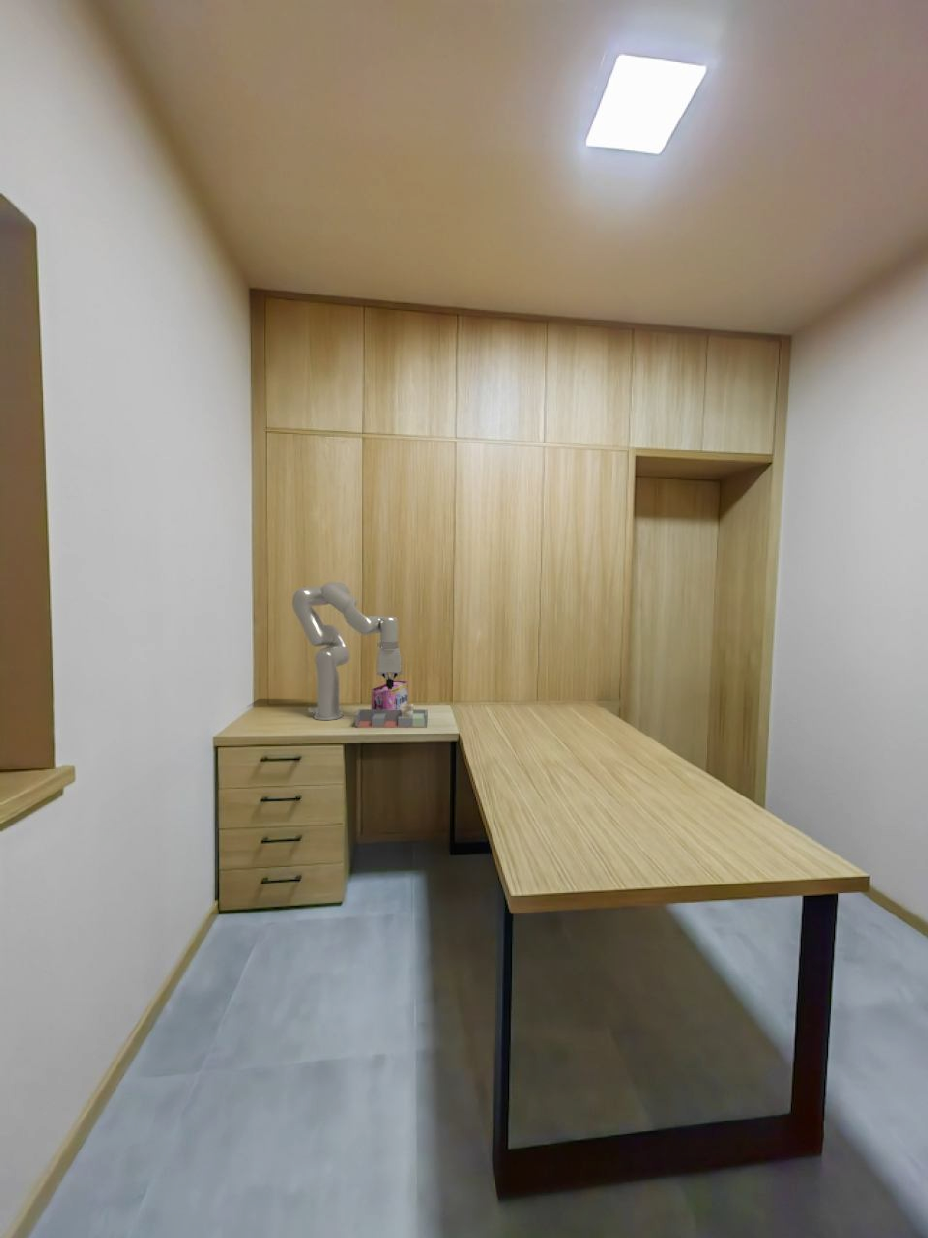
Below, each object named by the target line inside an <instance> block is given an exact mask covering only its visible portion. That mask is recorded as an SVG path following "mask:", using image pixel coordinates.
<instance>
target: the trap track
mask: <svg viewBox="0 0 928 1238" xmlns="http://www.w3.org/2000/svg"><path fill="white" fill-rule="evenodd" d="M428 713H429V709H421V708H420V709H414V708H413V717H402V709H371V708H369V709H367V708H366V709H365V708H359V709H358V710H357V711H356V713H355V714H354V715H355V716H354V722H355V724H354V727H355V729H356V728H363V729H364V728H366V729H367V728H372V727H373V729H374V727H376V728H377V729H378V728H384V729H385V728H388V729H391V728H393V729H394V728H396V729H397V728H401V729H405V728H407V729H410V728H411V729H414V728H415V729H416V728H417V729H421V728H422V729H424V728H423V727H426V729H427V728H428V721H429V719H428V717H429V716H428V715H429V714H428Z"/></svg>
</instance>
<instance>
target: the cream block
mask: <svg viewBox="0 0 928 1238" xmlns="http://www.w3.org/2000/svg"><path fill="white" fill-rule="evenodd" d="M413 709H414V703H408V704H403V705H402V717H413Z"/></svg>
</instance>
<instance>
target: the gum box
mask: <svg viewBox="0 0 928 1238" xmlns="http://www.w3.org/2000/svg"><path fill="white" fill-rule="evenodd" d="M408 685H409V683H408V681H404V680H394V687H392V689H388V687H386V683H383V684H381V685H379V686H375V687H374V688H372V689H371V707H370V709H402V705H403V704H409V703H408V697H409V695H408V693H409V691H408V690H409V688H408Z"/></svg>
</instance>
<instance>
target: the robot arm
mask: <svg viewBox="0 0 928 1238" xmlns="http://www.w3.org/2000/svg"><path fill="white" fill-rule="evenodd" d="M357 603H358V602H357V599H356V597H354V596H352V595H351V594H350V589H349V587H348V585H346V584H345V583H344V582H327V583H324V584H323V585H322V586H321V587H320V586H318V587H316V586H314V587H313V586H307V587H305V586H304V587H301V588H298V589H297V590H296V591H295V592H294V594H293V595H292V599H291V606H292V610H293V612H294V614H295V616H296V618H297V619H298V621H299V623H300V625H301V627H302V629H303V632H304V634H305V635H306V638H307V639H308V641H309V644H310V645H311V646H312V647H315V648H317V647H318V648H319V647H322V648H319V650H318V651H317V652H316V653H315V656H314V663H315V668H316V669H315V670H316V680H317V681H316V682H317V683H316V684H317V685H316V686H317V687H316V688H317V689H316V690H317V698H316V700H317V702H316V703H317V705H316V706H315V707H308V708H307V712H309V714H311V713H312V714H313V713H314V714H313V717H314V719H315V720H318V721H332V720H333V721H334V720H338V719H340V718H343V715H344V713H343V712H342V711H340V674H339V672H338V669H337V667H341V666H344V665H346V664H347V663H348V662H349V661H350V651H349V648H348V646H347V643H346V642H345V640H344V638H343V636H342V634H341V632H340V630H339V629H338V627H336V626H334V625H332V624H324V623H323V621H322V620H321V617H320V616H319V613H317V612H316V611H315V609H313V608H312V606H313V607H314V606H315V607H316V606H320V607H321V606H325V605H330V606H331V607H333V608H334V609H336V610H337V611H338V612H340V613H341V614H342V615H343V618H344V620H345V621H346V623H347V624H348V625H349V626H350V627H351V628H352V629H354V630H355V631H356V632H357V633H359V634H361V635H366V636H367V635H374V634H379V635H380V636H379V637H380V640H379V641H380V642H378V643H376V647H378V648H379V649H378V651H377V659H376V660H377V661H376V663H377V664H376V666H377V668H376V670H377V672H376V675H377V676H381V677H382V678H384V680H385V684H386V687H388V689H392V687H394V681H395V679H396V678H397V677H398V676H402V675H403V670H402V668H403V664H402V660H403V659H402V655H401V654H402V653H401V649H400V648H399V620H398V618H397V617H396V616H379V615H369V616H366V615H365V614H363V613H361V612H360V611H359V610H358V609H357V608H356V607H357V605H358V604H357ZM389 674H391V675H390V676H389Z"/></svg>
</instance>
